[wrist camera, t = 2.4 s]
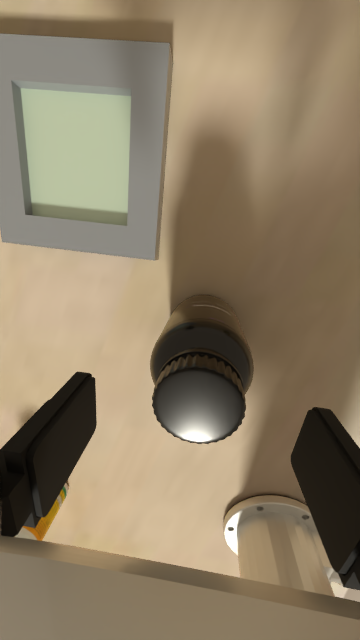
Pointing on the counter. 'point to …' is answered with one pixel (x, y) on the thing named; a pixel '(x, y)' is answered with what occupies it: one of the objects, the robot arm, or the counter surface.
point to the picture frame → (83, 143)
